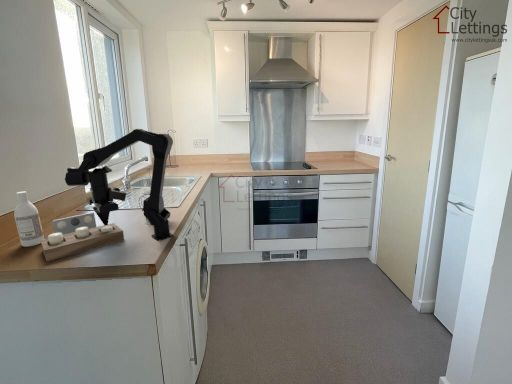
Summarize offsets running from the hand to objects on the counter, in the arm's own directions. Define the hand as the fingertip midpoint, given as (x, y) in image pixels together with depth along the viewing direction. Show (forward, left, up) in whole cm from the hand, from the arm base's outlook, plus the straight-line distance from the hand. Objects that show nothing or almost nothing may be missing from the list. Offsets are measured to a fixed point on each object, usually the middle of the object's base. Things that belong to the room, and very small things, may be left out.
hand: (106, 225), depth 106 cm
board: (0, +8, -6) cm, 10 cm away
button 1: (0, +16, -3) cm, 16 cm away
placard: (+14, +8, -6) cm, 17 cm away
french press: (+8, -21, -6) cm, 23 cm away
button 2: (0, 0, -5) cm, 5 cm away
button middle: (0, +8, -3) cm, 9 cm away
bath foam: (+17, +22, -6) cm, 28 cm away
